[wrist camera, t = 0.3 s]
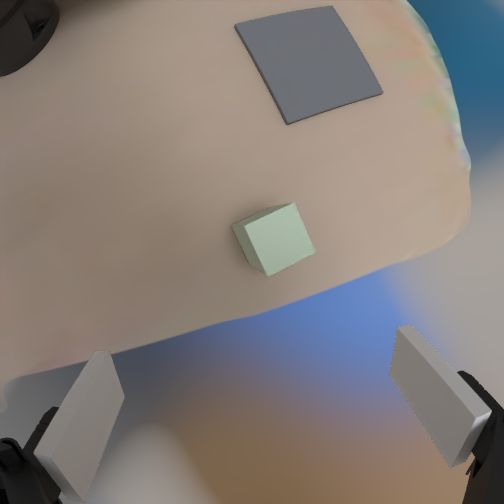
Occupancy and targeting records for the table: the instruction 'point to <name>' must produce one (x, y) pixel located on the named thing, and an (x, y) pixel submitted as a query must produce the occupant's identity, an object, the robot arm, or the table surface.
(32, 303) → the table surface
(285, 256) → the sage block
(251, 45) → the mat
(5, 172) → the table surface
